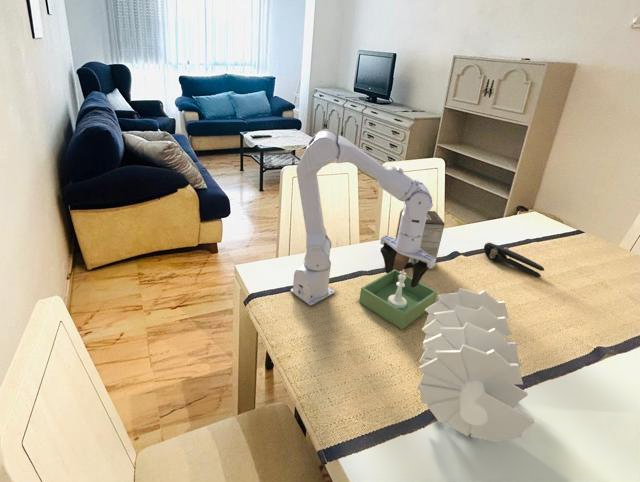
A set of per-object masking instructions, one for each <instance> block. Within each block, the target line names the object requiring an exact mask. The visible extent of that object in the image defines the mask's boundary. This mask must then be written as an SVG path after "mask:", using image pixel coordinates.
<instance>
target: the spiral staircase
mask: <svg viewBox="0 0 640 482" xmlns="http://www.w3.org/2000/svg"><path fill="white" fill-rule="evenodd" d="M437 298H438V300H437V301H435V303H433V304H432V305H430V306H429V307H427V308H426V309H425V311H426V312H425V313H427V314H428V315H427V317H426V319H425V323H424V325H423V327H422V328H421V331H422V332H423V333H425V336H424V340H423V342H422V343H423V344H422V350H423V353H422V355H421V357H420V358H419V361H418V363H419V364H421V365H419V369H420V371H421V378H420V380H419V382H418V385H417V387H416V389H417V390H418V391H420V403H421V404H424V405H426V407H427V408H428V410H429V411H430V412H431V413H432V415H433V416H434V417H435V419H436V420H437V421H438V422H439V423H440V424H443V423H445V425H447V426H448V427H450V428H452V429H453V430H455V431H456V432H458V433H460V434H462V435H464V437H465V436H466V437H469V436H470V437H471V438H474V439H478V440H479V439H480V440H484V441H489V442H493V443H499V441H505V440H506V441H507V440H512V439H519V438H523V433H524V432H525V431H526V430H527V429H529V428H530V427H531V426H532V425H533V424H534V423H536V422H535V419H534V418H532V417H530V416H529V415H526V414H525V413H523V412H521V411H519V410H517V409H516V408H515V405H517V404H518V403H520V402H521V401H523V400H524V399H525V398H526V397H528V396H529V393H528V392H527V391H526V390H524V389H522V388H520V387H518V386H517V385H524V382H523V379H522V378H523V377H522V375H521V370H520V367H521V366H522V365H523V362H522V360H519V355H518V347H517V346H518V341H517V342H516V341H514V340H512V339H510V338H508V337H506V336H512V335H513V333H512V331H511V328H510V326H509V323H508V320H507V319H510V317H509V313H508V309H507V306H506V302H505V300H502V301H501V300H500V301H499V300H497V299H495V298H494V297H493V296H492V295H491V294H490V293H488V292H487V291H486V290H485V289H483V290H482V291H480V292H476V291H472V290H471V289H466V288H462V287H459V288H458V290H457V292H447V293H437Z"/></svg>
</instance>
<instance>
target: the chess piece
mask: <svg viewBox="0 0 640 482" xmlns="http://www.w3.org/2000/svg"><path fill="white" fill-rule="evenodd" d="M399 273H401V274H402V275H398V279H399V282H397V283H396V285H397V286H398V289H397V292H396V294H395V295H390V296H389V297H388V303H389V304H391V305H393V306H394V307H396V308H404V307H406V305H407V301H406V299H405V298H404V297H402V287H405V284H404V283H403V282H404V281H405V279H406V276H404V275H408V274H407V272H405V269H403V270H402V271H400V272H399Z"/></svg>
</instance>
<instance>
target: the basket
mask: <svg viewBox="0 0 640 482" xmlns="http://www.w3.org/2000/svg"><path fill="white" fill-rule="evenodd" d="M398 275H402V274H401V273H399V271H397V270H395V269H394V270H392V271H391V272H389V273H388V274H387V273H385V274H383V275H382V276H379V277H377V278H376V279H374V280H372V281H371V282H369V283H367V284H366V285H363V286H362V287H360V293H359V300H358V302H359V303H360V304H361V305H362V306H365V307H366V308H368V309H369V310H371V311H373V312H374V313H375V314H377V315H378V316H380V317H382V318H383V319H385V320H386V321H388V323H391V324H392V325H394V326H395V327H397V328H399V329H400V330H404V329H405V328H406V327H408V326H409V325H410V324H411V323H413V322H414V321H415V320H417V319H418V318H419V317H421V316H423V315H424V314H425V313H427V312H426V311H425V309H426V308H427V307H429V306H430V305H432V304H433V303H435V302H436V300H437V297H438V291H437V290H435V289H433V288H432V287H429V286H427V285H426V284H424V283H422V282H420V281H419V283H418V285H417V286H416V287H414V288H413V287H411V282H412V278H413V277H411V276H409V275H408V274H406V275H404V276H406V279H405V281H404V282H403V283H404V284H405V287H402V297H404V298H405V299H406V301H407V305H406V307H404V308H396V307H394V306H393V305H391V304H389V303H388V297H389V296H390V295H395V294H396V292H397V289H398V286H397V285H396V283H397V282H399V279H398Z"/></svg>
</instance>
